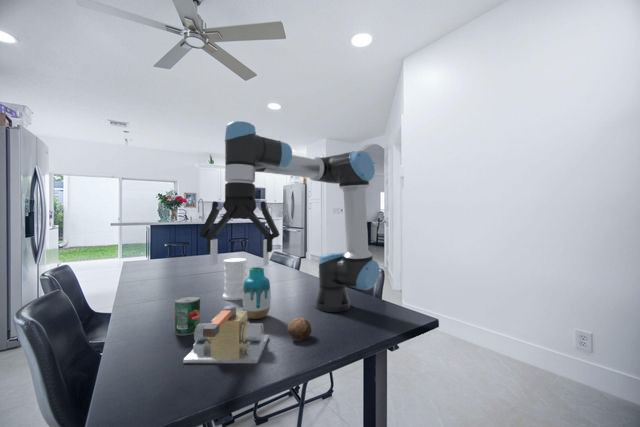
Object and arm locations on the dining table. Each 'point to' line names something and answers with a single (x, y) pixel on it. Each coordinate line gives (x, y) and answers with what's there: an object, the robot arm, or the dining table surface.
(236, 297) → the decorative container
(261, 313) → the vase
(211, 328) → the lever
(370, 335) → the dining table surface
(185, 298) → the canned tomato
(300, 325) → the brown round lump
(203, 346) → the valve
